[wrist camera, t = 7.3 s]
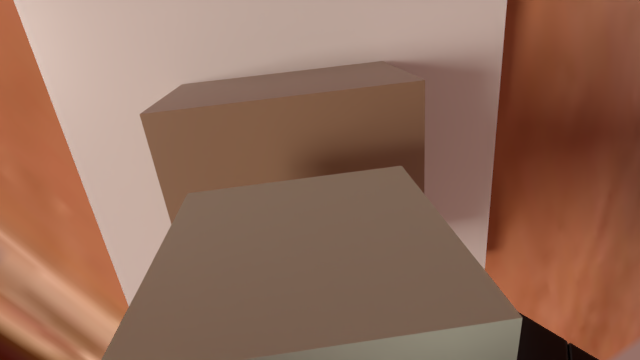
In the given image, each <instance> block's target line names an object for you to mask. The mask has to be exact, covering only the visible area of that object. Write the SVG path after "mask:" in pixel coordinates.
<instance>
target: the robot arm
mask: <svg viewBox="0 0 640 360" xmlns="http://www.w3.org/2000/svg"><path fill="white" fill-rule="evenodd" d="M518 313H519V312H518ZM519 314H520V315H521V316H522V318H523V319H522V326H521V333H520V340H519V347H518V354H517V360H599V359H597V358H595V357H593V356H592V355H590V354H588V353H586V352H585V351H583V350H581V349H580V348H578V347H576V346H575V345H573V344H571V343H569V344H567V341H566V340H564V339H563V338H561V337H559V336H558V335H556V334H554V333H553V332H551V331H549V330H548V329H546V328H544V327H543V326H541V325H539V324H538V323H536V322H534V321H533V320H531V319H529V318H528V317H526V316H524V315H522V314H521V313H519Z"/></svg>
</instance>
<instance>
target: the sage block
mask: <svg viewBox="0 0 640 360" xmlns="http://www.w3.org/2000/svg"><path fill="white" fill-rule="evenodd" d="M522 319H523V318H522V316H521V315H520V314H519V313H518V311H517V310H516V309H515V308H514V306H513V305H512V304H511V303H510V301H509V300H508V299H507V298H506V296H505V295H504V294H503V292H502V291H501V290H500V289H499V287H498V286H497V285H496V284H495V282H494V281H493V280H492V279H491V277H490V276H489V275H488V274H487V272H486V271H485V270H484V269H483V267H482V266H481V265H480V264H479V262H478V261H477V260H476V259H475V257H474V256H473V255H472V254H471V252H470V251H469V250H468V248H467V247H466V246H465V245H464V243H463V242H462V241H461V240H460V238H459V237H458V236H457V235H456V233H455V232H454V231H453V230H452V228H451V227H450V226H449V225H448V223H447V222H446V221H445V220H444V218H443V217H442V216H441V215H440V213H439V212H438V211H437V209H436V208H435V207H434V206H433V204H432V203H431V202H430V201H429V199H428V198H427V197H426V196H425V194H424V193H423V192H422V191H421V189H420V188H419V187H418V186H417V184H416V183H415V182H414V181H413V179H412V178H411V177H410V176H409V174H408V173H407V172H406V171H405V169H404V168H403V167H402V166H394V167H387V168H379V169H371V170H364V171H356V172H348V173H340V174H333V175H325V176H317V177H310V178H302V179H294V180H286V181H279V182H271V183H263V184H255V185H248V186H240V187H232V188H225V189H217V190H209V191H201V192H194V193H188V194H187V196H186V197H185V199H184V201H183V203H182V205H181V207H180V209H179V211H178V213H177V215H176V217H175V219H174V221H173V223H172V225H171V226H170V228H169V230H168V232H167V234H166V236H165V238H164V240H163V242H162V244H161V246H160V248H159V250H158V252H157V254H156V255H155V257H154V259H153V261H152V263H151V265H150V267H149V269H148V271H147V273H146V275H145V277H144V279H143V281H142V283H141V284H140V286H139V288H138V290H137V292H136V294H135V296H134V298H133V300H132V302H131V304H130V306H129V308H128V310H127V312H126V314H125V315H124V317H123V319H122V321H121V323H120V325H119V327H118V329H117V331H116V333H115V335H114V337H113V339H112V341H111V343H110V344H109V346H108V348H107V350H106V352H105V354H104V356H103V358H102V360H517V354H518V347H519V340H520V333H521V326H522Z"/></svg>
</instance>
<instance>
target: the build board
mask: <svg viewBox="0 0 640 360" xmlns="http://www.w3.org/2000/svg"><path fill="white" fill-rule="evenodd" d="M14 3H15V5H16V8H17V11H18V13H19V16H20V18H21V21H22V24H23V26H24V29H25V32H26V34H27V37H28V40H29V42H30V45H31V48H32V50H33V53H34V56H35V58H36V61H37V64H38V66H39V69H40V72H41V74H42V77H43V80H44V82H45V85H46V88H47V90H48V93H49V96H50V98H51V101H52V104H53V106H54V109H55V111H56V114H57V117H58V119H59V122H60V125H61V127H62V130H63V133H64V135H65V138H66V141H67V143H68V146H69V149H70V151H71V154H72V157H73V159H74V162H75V165H76V167H77V170H78V173H79V175H80V178H81V181H82V183H83V186H84V189H85V191H86V194H87V196H88V199H89V202H90V204H91V207H92V210H93V212H94V215H95V218H96V220H97V223H98V226H99V228H100V231H101V234H102V236H103V239H104V242H105V244H106V247H107V250H108V252H109V255H110V258H111V260H112V263H113V266H114V268H115V271H116V274H117V276H118V279H119V281H120V284H121V287H122V289H123V292H124V295H125V297H126V300H127V303H128V305H129V306H130V304H131V302H132V300H133V298H134V296H135V294H136V292H137V290H138V288H139V286H140V284H141V283H142V281H143V279H144V277H145V275H146V273H147V271H148V269H149V267H150V265H151V263H152V261H153V259H154V257H155V255H156V254H157V252H158V250H159V248H160V246H161V244H162V242H163V240H164V238H165V236H166V234H167V232H168V230H169V228H170V226H171V225H172V223H173V221H174V219H175V217H176V215H177V213H178V211H179V209H180V207H181V205H182V203H183V201H184V199H185V197H186V196H187V194H188V193H194V192H201V191H209V190H217V189H225V188H232V187H240V186H248V185H255V184H263V183H271V182H279V181H286V180H294V179H302V178H310V177H317V176H325V175H333V174H340V173H348V172H356V171H364V170H371V169H379V168H387V167H394V166H402V167H403V168H404V169H405V171H406V172H407V173H408V174H409V176H410V177H411V178H412V179H413V181H414V182H415V183H416V184H417V186H418V187H419V188H420V189H421V191H422V192H423V193H424V194H425V196H426V197H427V198H428V199H429V201H430V202H431V203H432V204H433V206H434V207H435V208H436V209H437V211H438V212H439V213H440V215H441V216H442V217H443V218H444V220H445V221H446V222H447V223H448V225H449V226H450V227H451V228H452V230H453V231H454V232H455V233H456V235H457V236H458V237H459V238H460V240H461V241H462V242H463V243H464V245H465V246H466V247H467V248H468V250H469V251H470V252H471V254H472V255H473V256H474V257H475V259H476V260H477V261H478V262H479V264H480V265H481V266H482V267H483V269H485V260H486V248H487V236H488V224H489V212H490V200H491V188H492V176H493V164H494V152H495V140H496V128H497V116H498V104H499V92H500V80H501V68H502V56H503V44H504V32H505V20H506V8H507V0H14Z"/></svg>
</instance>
